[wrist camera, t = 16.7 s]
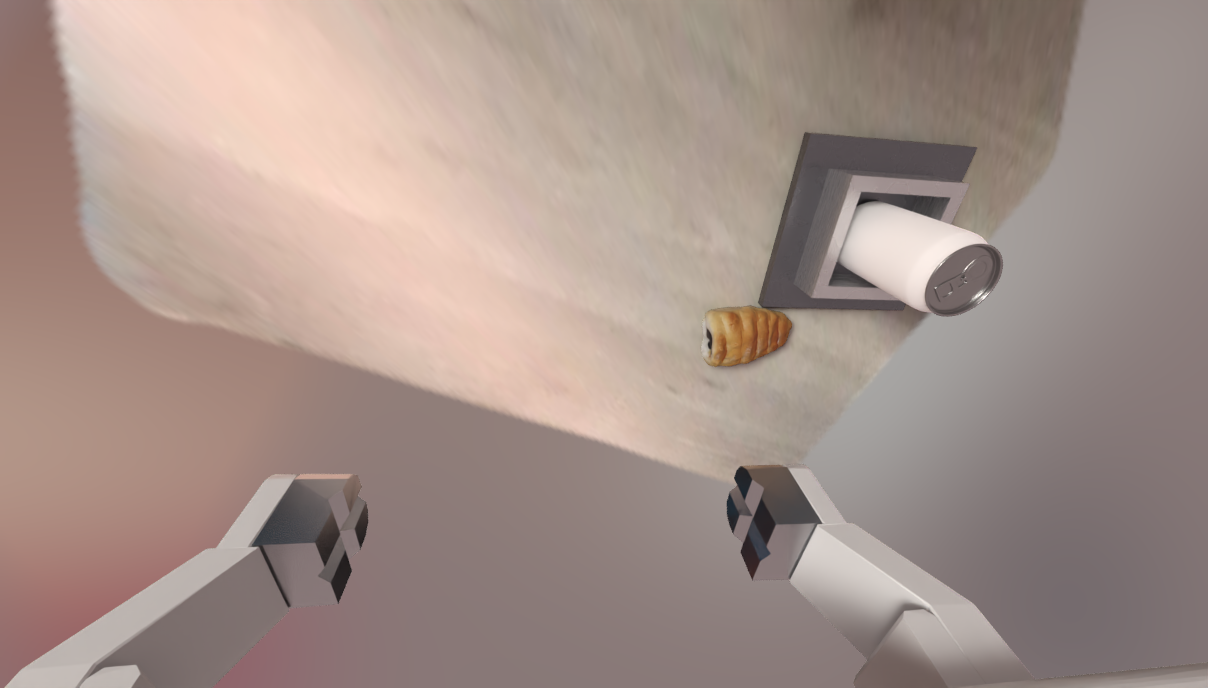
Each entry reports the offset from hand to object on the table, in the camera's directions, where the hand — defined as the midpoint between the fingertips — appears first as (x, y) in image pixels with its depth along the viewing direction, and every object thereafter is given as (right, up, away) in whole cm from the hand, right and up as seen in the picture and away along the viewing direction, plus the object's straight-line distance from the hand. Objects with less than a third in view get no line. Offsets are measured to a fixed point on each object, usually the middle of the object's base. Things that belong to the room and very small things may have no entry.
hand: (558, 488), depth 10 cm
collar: (+25, +14, +33) cm, 44 cm away
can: (+26, +14, +33) cm, 44 cm away
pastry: (+15, +5, +38) cm, 41 cm away
